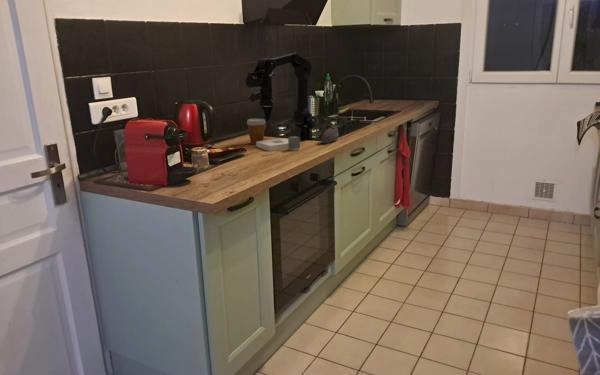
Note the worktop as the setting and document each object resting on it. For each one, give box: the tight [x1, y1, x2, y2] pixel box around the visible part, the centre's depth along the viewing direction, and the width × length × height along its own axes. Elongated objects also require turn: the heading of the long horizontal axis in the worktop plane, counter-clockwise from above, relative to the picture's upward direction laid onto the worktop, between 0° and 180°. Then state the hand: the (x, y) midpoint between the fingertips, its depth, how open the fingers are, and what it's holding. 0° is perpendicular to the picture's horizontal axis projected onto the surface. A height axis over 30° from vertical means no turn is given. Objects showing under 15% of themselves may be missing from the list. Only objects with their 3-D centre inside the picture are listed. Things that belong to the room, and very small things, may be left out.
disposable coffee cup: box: [246, 118, 267, 146], centre depth 247 cm, size 10×10×12 cm
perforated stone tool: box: [320, 126, 340, 144], centre depth 248 cm, size 15×5×7 cm, turn 146°
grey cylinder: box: [287, 135, 301, 151], centre depth 231 cm, size 4×4×6 cm
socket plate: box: [255, 137, 290, 152], centre depth 239 cm, size 16×14×3 cm
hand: (267, 119), depth 236 cm, fingers open, 9 cm apart
